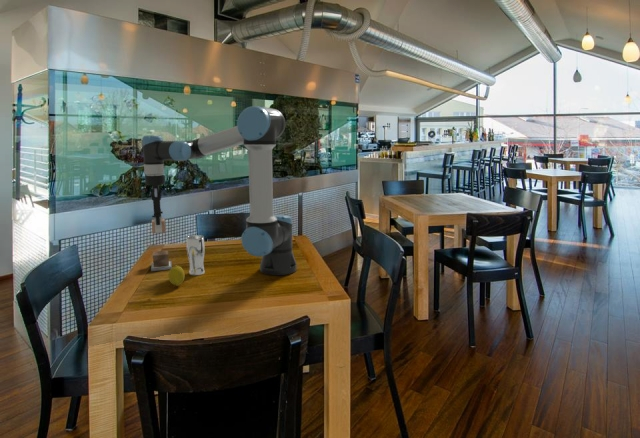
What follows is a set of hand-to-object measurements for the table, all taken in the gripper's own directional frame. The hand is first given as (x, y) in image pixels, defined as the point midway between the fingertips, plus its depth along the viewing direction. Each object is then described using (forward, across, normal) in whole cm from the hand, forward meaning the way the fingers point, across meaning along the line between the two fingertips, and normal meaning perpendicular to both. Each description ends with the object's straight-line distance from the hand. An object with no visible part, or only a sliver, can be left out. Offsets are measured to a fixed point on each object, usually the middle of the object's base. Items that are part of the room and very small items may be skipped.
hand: (158, 230), depth 176 cm
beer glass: (+16, -13, -14) cm, 25 cm away
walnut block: (+15, 0, 0) cm, 15 cm away
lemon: (+16, -26, -6) cm, 31 cm away
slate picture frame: (+16, 0, 0) cm, 16 cm away
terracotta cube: (0, 0, 0) cm, 0 cm away
